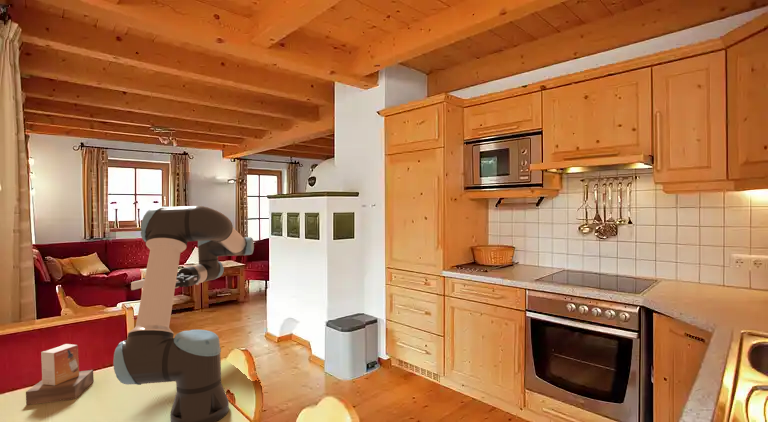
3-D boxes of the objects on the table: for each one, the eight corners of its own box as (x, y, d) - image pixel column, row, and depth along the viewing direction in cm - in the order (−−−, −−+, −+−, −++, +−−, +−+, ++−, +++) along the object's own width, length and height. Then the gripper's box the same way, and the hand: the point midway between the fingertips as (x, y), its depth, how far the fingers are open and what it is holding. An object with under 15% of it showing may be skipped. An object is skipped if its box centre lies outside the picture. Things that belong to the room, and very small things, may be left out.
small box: (54, 386, 128) (53, 353, 128) (41, 384, 130) (40, 351, 130) (80, 375, 136) (78, 344, 136) (67, 374, 138) (66, 343, 137)
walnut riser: (75, 398, 128) (74, 386, 128) (26, 404, 125) (25, 391, 125) (93, 381, 141) (93, 369, 141) (49, 386, 138) (49, 374, 138)
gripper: (219, 285, 159) (177, 298, 138) (166, 284, 166) (119, 296, 145) (218, 266, 158) (176, 276, 138) (165, 265, 165) (118, 275, 145)
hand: (147, 286), depth 142 cm, fingers open, 13 cm apart
